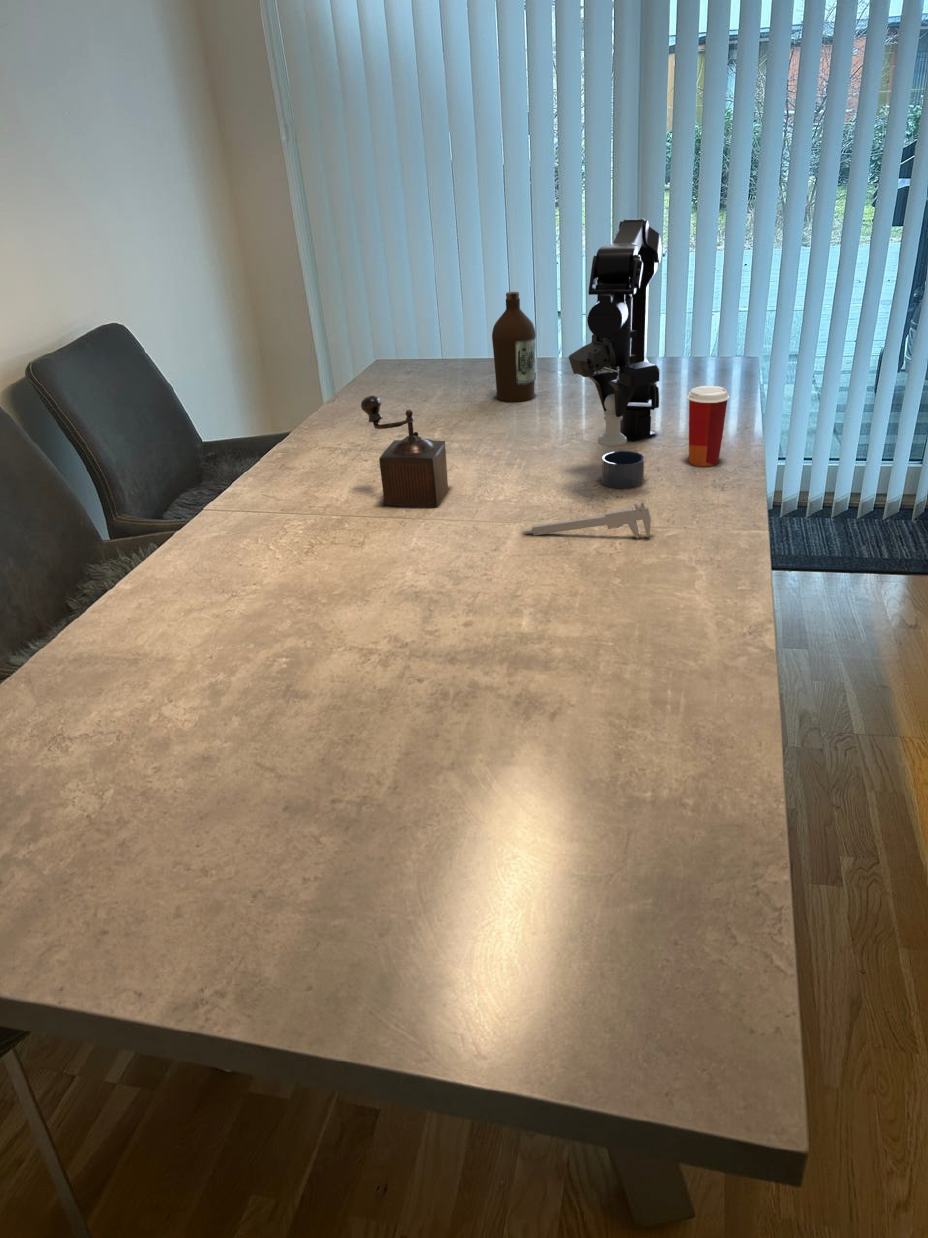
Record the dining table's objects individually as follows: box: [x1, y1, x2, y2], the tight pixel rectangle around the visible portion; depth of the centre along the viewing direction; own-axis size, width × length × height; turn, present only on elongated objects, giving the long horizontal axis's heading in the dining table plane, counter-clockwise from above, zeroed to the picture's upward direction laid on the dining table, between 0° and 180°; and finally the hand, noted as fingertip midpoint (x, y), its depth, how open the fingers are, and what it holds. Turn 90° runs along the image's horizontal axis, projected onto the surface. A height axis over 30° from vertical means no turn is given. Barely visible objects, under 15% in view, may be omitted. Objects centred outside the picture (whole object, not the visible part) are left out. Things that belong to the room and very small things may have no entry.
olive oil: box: [491, 291, 537, 403], centre depth 218 cm, size 11×11×25 cm
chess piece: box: [597, 394, 628, 447], centre depth 162 cm, size 5×5×9 cm
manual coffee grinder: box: [360, 395, 450, 508], centre depth 163 cm, size 16×11×18 cm
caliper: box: [524, 500, 652, 539], centre depth 145 cm, size 20×1×6 cm, turn 78°
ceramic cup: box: [600, 450, 646, 489], centre depth 166 cm, size 8×8×5 cm
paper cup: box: [686, 385, 730, 467], centre depth 171 cm, size 8×8×14 cm
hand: (612, 414), depth 162 cm, fingers closed on chess piece, 3 cm apart
